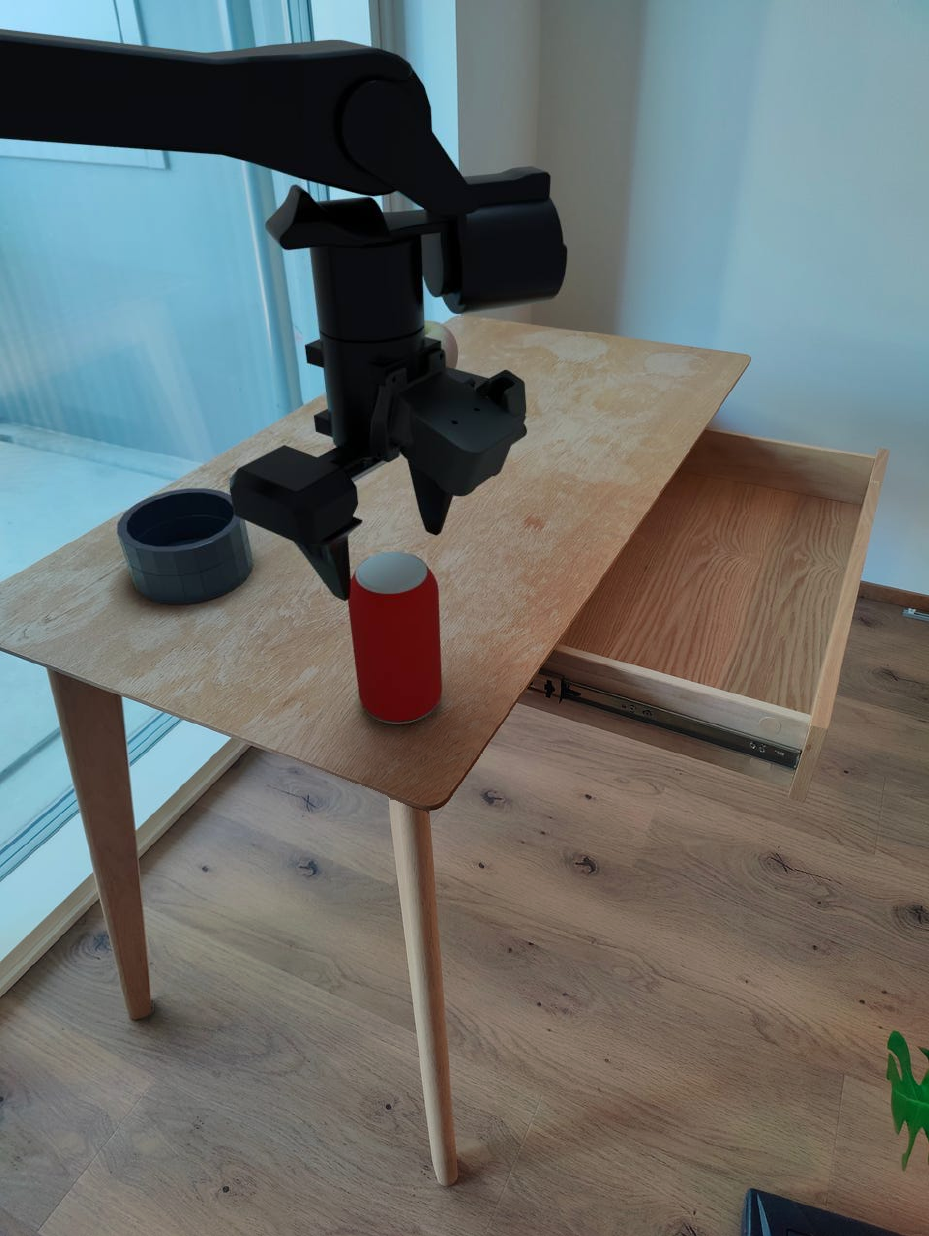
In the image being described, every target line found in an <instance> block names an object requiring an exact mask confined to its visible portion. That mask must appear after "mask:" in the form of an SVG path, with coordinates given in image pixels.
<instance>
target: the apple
mask: <svg viewBox="0 0 929 1236" xmlns="http://www.w3.org/2000/svg"><path fill="white" fill-rule="evenodd" d="M424 322H425V337H428V338H432V339H436V340H440V341H441V349H443V350H444V351H445V353H446V367H450V368H453V369H456V368H457V365H458V360H459V346H458V343H457V339H456V338H455V336H454V334H453V333H452V331H451V330H450V329H449V328H448V327H447V326H445V324H443V323H441V322H439V321H436V320H427V319H426V320H425V319H424Z"/></svg>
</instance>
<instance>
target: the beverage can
mask: <svg viewBox="0 0 929 1236" xmlns="http://www.w3.org/2000/svg"><path fill="white" fill-rule="evenodd" d="M439 593H440V592H439V585H438V581H437V578H436V576H435V574H434V573H433V572H432V570H431V569H430V567H429V566H428V565H427V564H426V563H425V561H424V560H422V559H421V558H420V557H418V556H416V555H414V554H411V553H408V552H404V551H394V550H393V551H384V552H379V553H376V554H374V555H372V556H369V557H367V558H366V559H364V560H363V561H362V562H361V563H359V564H358V566H357V567H356V569H355V570H354V573H353V574H352V576H351V590H350V598H349V599H348V600H347V606H348V614H349V615H348V616H349V622H350V623H349V624H350V631H351V639H352V647H353V657H354V664H355V673H356V681H357V682H356V683H357V691H358V698H359V700H360V703H361V705H362V706H363V709H364V710H365V711H366V712H367V714H368V715H369V716H371V717H372V718H373V719H376V720H377V721H380V722H383V723H386V724H391V725H393V724H394V725H403V724H409V723H413V722H416V721H419V720H421V719H423V718H425V717H426V716H428V715H430V713H431V712H432V711H433V710H434V709H435V708H436V707H437V705H438V703H439V701H440V699H441V696H442V692H443V680H442V679H443V676H442V675H443V674H442V649H441V619H440V618H441V617H440V594H439Z"/></svg>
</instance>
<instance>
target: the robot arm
mask: <svg viewBox="0 0 929 1236" xmlns="http://www.w3.org/2000/svg"><path fill="white" fill-rule="evenodd" d="M0 140H12V141H23V142H24V141H26V142H37V143H38V142H39V143H53V144H65V145H66V144H67V145H78V146H79V145H81V146H93V147H109V148H121V149H135V150H146V151H147V150H149V151H161V152H162V151H163V152H175V153H190V154H191V153H192V154H200V155H201V154H203V155H214V156H215V155H217V156H224V157H228V158H231V159H236V160H240V161H243V162H247V163H250V164H254V165H257V166H259V167H262V168H266V169H269V170H272V171H275V172H278V173H281V174H284V175H287V176H291V177H294V178H297V179H299V180H303V181H308V182H311V183H315V184H319V185H323V186H326V187H330V188H334V189H338V190H341V191H346V192H349V193H353V194H356V195H360V196H359V197H347V198H339V199H338V198H337V199H329V200H319V201H316V200H315V199H314V198H313V197H312V195H311V194H310V193H309V192H308V191H307V190H305V189H304V188H303V187H302V186H301V185H298V184H292V185H290V187H289V190H288V193H287V196H286V198H285V200H284V201H283V203H282V204H281V205H280V206H279V207H278V208H277V209H276V210H275V211H274V213H272V215H271V216H270V217H268V219H267V220H266V221H265V225H264V226H265V231H266V232H267V234H269V236H270V237H271V238H272V239H273V240H274V241H275V242H276V243H277V245H279V246H280V247H281V249H282V250H284V251H294V250H303V249H308V250H309V257H310V267H311V275H312V284H313V291H314V301H315V302H314V303H315V310H316V317H317V326H318V334H319V335H318V336H319V339H316V340H314V341H311V342H309V343H306V344H304V352H305V360H306V364H309V365H312V366H315V367H318V368H322V370H323V378H324V379H323V380H324V386H325V396H326V397H325V398H326V404H327V405H326V406H327V408H325V409H324V410H322V411H320V412H318V413H315V414H314V415H313V422H314V429H315V433H318V434H321V435H324V436H326V437H329V438H332V444H333V445H334V446H335V447H334V448H332V449H329V450H328V451H327V452H325V453H323V454H321V455H319V456H315V455H312V454H309V453H308V452H305V451H302V450H299V449H296V448H295V447H291V446H289V445H286V444H283V445H282V446H279V447H278V448H276V449H273V450H271V451H269V452H267V453H265V454H264V455H262V456H260V457H257V458H256V459H254V460H252V461H250V462H248V463H246V464H244V465H242V466H240V467H237V469H236V470H235V472H234V473H233V474H232V475H231V477H230V478H229V493H230V495H231V499H232V504H233V509H234V514H235V516H237V517H239V518H242V519H244V520H245V522H246V521H247V522H248V523H251V524H253V525H255V526H257V527H259V528H262V529H264V530H266V531H268V532H270V533H273V534H275V535H277V536H280V537H282V538H284V539H287V540H289V541H291V542H292V543H294V544H295V546H296V547H297V548H298V549H299V551H300V552H301V553H302V555H303V556H304V557H305V559H306V560H307V562H308V563H309V564H310V566H311V567H312V568H313V569H314V571H315V573H316V574H317V575H318V576H319V579H321V580H322V582H323V583H324V584H325V586H326V587H327V588H328V590H329V591H330V593H331V594H332V595H333V596H334V597H335V598H336V599H339V600H341V601H344V602H346V601H348V599H349V598H350V590H351V578H352V576H351V562H350V561H351V560H350V546H349V535H350V534H351V533H353V531H355V530H356V529H357V528H359V526H361V525H362V524H363V519H361V518H359V517H356V516H355V512H356V510H357V508H358V506H359V496H358V495H359V494H358V487H357V485H356V484H355V482H357V481H359V480H360V479H362V478H364V477H365V476H367V475H369V474H370V473H373V472H374V471H376V470H378V469H379V468H380V467H382V466H385V465H386V464H387V463H389V464H390V463H391V462H392V461H395V460H396V459H398V458H399V457H400V456H401V455H402V457H403V458H404V459H406V460H407V461H406V462H407V464H408V470H409V473H410V478H411V482H412V485H413V486H412V487H413V490H414V495H415V499H416V500H415V501H416V504H417V509H418V511H419V515H420V518H421V521H422V525H423V527H424V530H425V531H426V533H429V534H431V535H433V536H435V537H437V536H439V535H440V534H441V533H442V532H443V528H444V525H445V522H446V521H447V517H448V513H449V510H450V507H451V505H452V501H453V498H454V497H466V496H468V495H470V494H472V493H473V492H475V490H476V489H477V488H478V487H479V486H480V485H482V484H483V483H485V482H486V481H487V480H489V479H491V478H492V477H497V476H498V475H499V474H500V473H501V472H502V470H503V468H504V465H505V462H506V460H507V457H508V455H509V453H510V450H511V448H512V446H513V445H515V444H516V443H517V442H519V441H520V440H521V439H524V438H525V437H526V436H527V434H528V428H527V426H526V424H525V421H526V420H527V419H526V418H527V416H526V414H527V399H526V398H527V397H526V384H525V381H524V380H523V379H521V378H520V377H519V376H517V375H516V374H515V373H513V372H512V371H510V370H509V369H503V370H501V371H500V372H498V373H496V374H495V375H492V376H491V377H487V376H486V377H485V376H483V375H478V374H475V373H471V372H468V371H464V370H461V369H456V368H455V369H453V368H450V367H446V353H445V351H444V350H443V349H441V341H440V340H436V339H432V338H428V337H425V322H424V321H425V301H424V299H425V298H424V295H425V294H424V285H425V287H426V289H427V291H428V293H429V294H430V295H431V296H432V297H433V298H434V299H435V298H442V301H443V303H444V305H445V306H446V307H447V309H448V311H450V312H451V313H452V314H454V315H464V314H471V313H477V312H484V311H492V310H498V309H499V310H500V309H506V308H512V307H519V306H527V305H534V304H539V303H546V302H550V301H552V300H554V299H555V298H556V297H557V296H558V295H559V293H560V291H561V289H562V287H563V284H564V281H565V277H566V272H567V265H568V247H567V245H566V244H565V243H564V233H563V228H562V223H561V218H560V216H559V213H558V210H557V208H556V207H557V206H556V205H555V204H554V202H553V199H552V198H551V178H552V176H551V174H550V173H549V172H548V171H546V170H544V169H540V168H537V167H535V166H534V165H533V166H532V165H530V166H529V165H528V166H518V167H517V166H516V167H512V168H509V169H507V170H504V171H502V172H498V173H488V174H477V175H465V176H463V175H462V173H461V171H460V170H459V169H458V167H457V165H455V163H454V161H453V159H452V158H451V157H450V155H449V153H448V152H447V151H446V149H445V148H444V147H443V145H442V144H441V142H440V140H439V139H438V137H437V136H436V135H435V133H434V132H433V119H432V105H431V103H430V100H429V96H428V93H427V90H426V87H425V84H424V83H423V81H422V80H421V79H420V77H419V76H418V74H417V72H416V71H415V70H414V69H413V66H412V64H411V62H409V61H408V60H407V59H405V58H403V57H402V56H400V55H399V54H397V53H394V52H391V51H389V50H385V49H382V48H379V47H375V46H371V45H366V44H363V43H362V44H361V43H357V42H354V41H348V40H343V39H321V40H311V41H300V42H289V43H277V44H269V45H268V44H267V45H261V46H254V47H246V48H240V49H233V50H223V51H210V52H200V51H192V50H184V49H177V48H176V49H175V48H167V47H157V46H148V45H141V44H132V43H125V42H116V41H107V40H100V39H98V40H97V39H90V38H81V37H73V36H64V35H57V34H49V33H48V34H47V33H38V32H32V31H22V30H13V29H5V28H0ZM394 193H397V194H398V195H400V196H402V197H403V198H405V199H407V200H408V201H410V202H411V203H413V204H415V205H417V206H419V207H420V208H422V209H412V210H401V211H383V210H382V208H381V206H380V205H379V203H378V202H377V200H376V199H374V198H373V197H380V196H388V195H391V194H394Z"/></svg>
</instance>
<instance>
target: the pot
mask: <svg viewBox="0 0 929 1236" xmlns="http://www.w3.org/2000/svg"><path fill="white" fill-rule="evenodd" d="M116 528H117V529H116V534H117V537H118V540H119V544H120V548H121V551H122V553H123V556H124V560H125V563H126V567H127V570H128V573H129V576H130V580H131V581H132V583H133V586H134V589H135V590H136V591H137V592H138V593H139V595H141V596H142V597H144V598H146V599H148V600H150V601H152V602H156V603H160V604H164V605H165V604H166V605H190V604H191V605H192V604H197V603H198V604H199V603H202V602H206V601H211V600H213V599H216V598H219V597H222V596H224V595H226V594H228V593H229V592H231V591H233V590H234V589H236V588H237V587H239V586H240V585H241V584H242V583H243V582H245V581H246V579H248V577H249V575H250V574H251V571H252V569H253V565H254V559H253V554H252V550H251V549H252V548H251V543H250V539H249V534H248V529H247V524H246V520H244V519H242V518H239V517H237V516H235V514H234V509H233V504H232V499H231V494H229V493H227V492H225V491H222V490H218V489H212V488H206V487H205V488H204V487H203V488H201V487H195V488H194V487H193V488H192V487H190V488H187V487H186V488H181V489H174V490H168V491H165V492H162V493H159V494H155V495H151V496H149V497H147V498H145V499H143V500H141V501H139V502H138V503H135V504H134V505H133V506H132V507H130V508H129V509H128V510H126V511H125V512H124V513H123V514H122V516H121V517H120V519H119V520H118V522H117V525H116Z"/></svg>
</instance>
